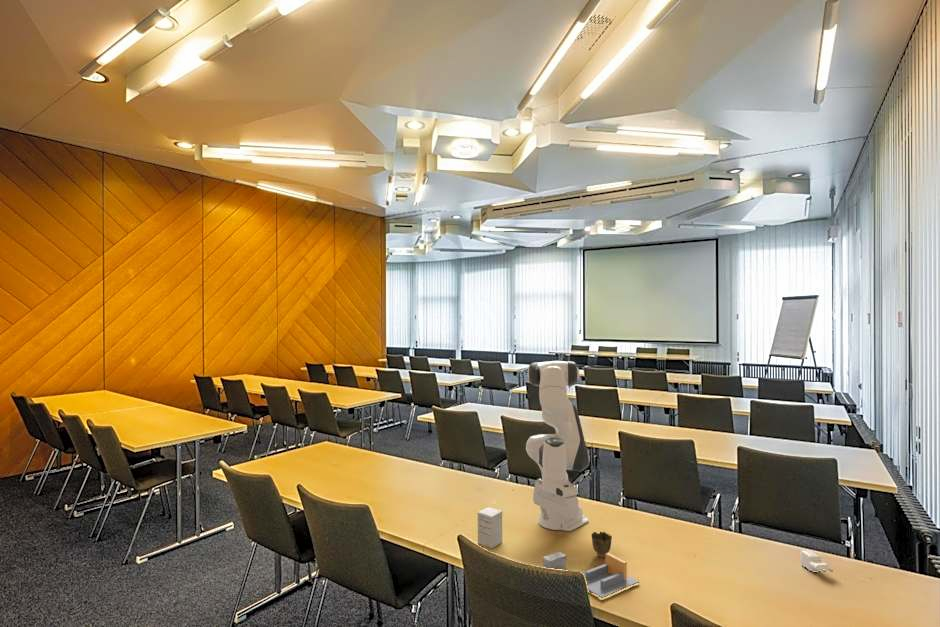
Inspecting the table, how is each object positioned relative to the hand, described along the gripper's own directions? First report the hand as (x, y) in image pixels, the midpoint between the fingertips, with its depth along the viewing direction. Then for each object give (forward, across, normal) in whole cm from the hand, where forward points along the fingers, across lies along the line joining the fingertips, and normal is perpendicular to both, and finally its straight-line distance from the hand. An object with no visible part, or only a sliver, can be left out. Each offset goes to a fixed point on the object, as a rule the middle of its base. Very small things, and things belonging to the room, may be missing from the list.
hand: (554, 523), depth 180 cm
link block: (+17, 0, 0) cm, 17 cm away
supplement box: (+16, -30, -7) cm, 35 cm away
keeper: (+17, +16, +8) cm, 24 cm away
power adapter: (+17, +51, +77) cm, 94 cm away
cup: (+17, +2, +22) cm, 28 cm away
